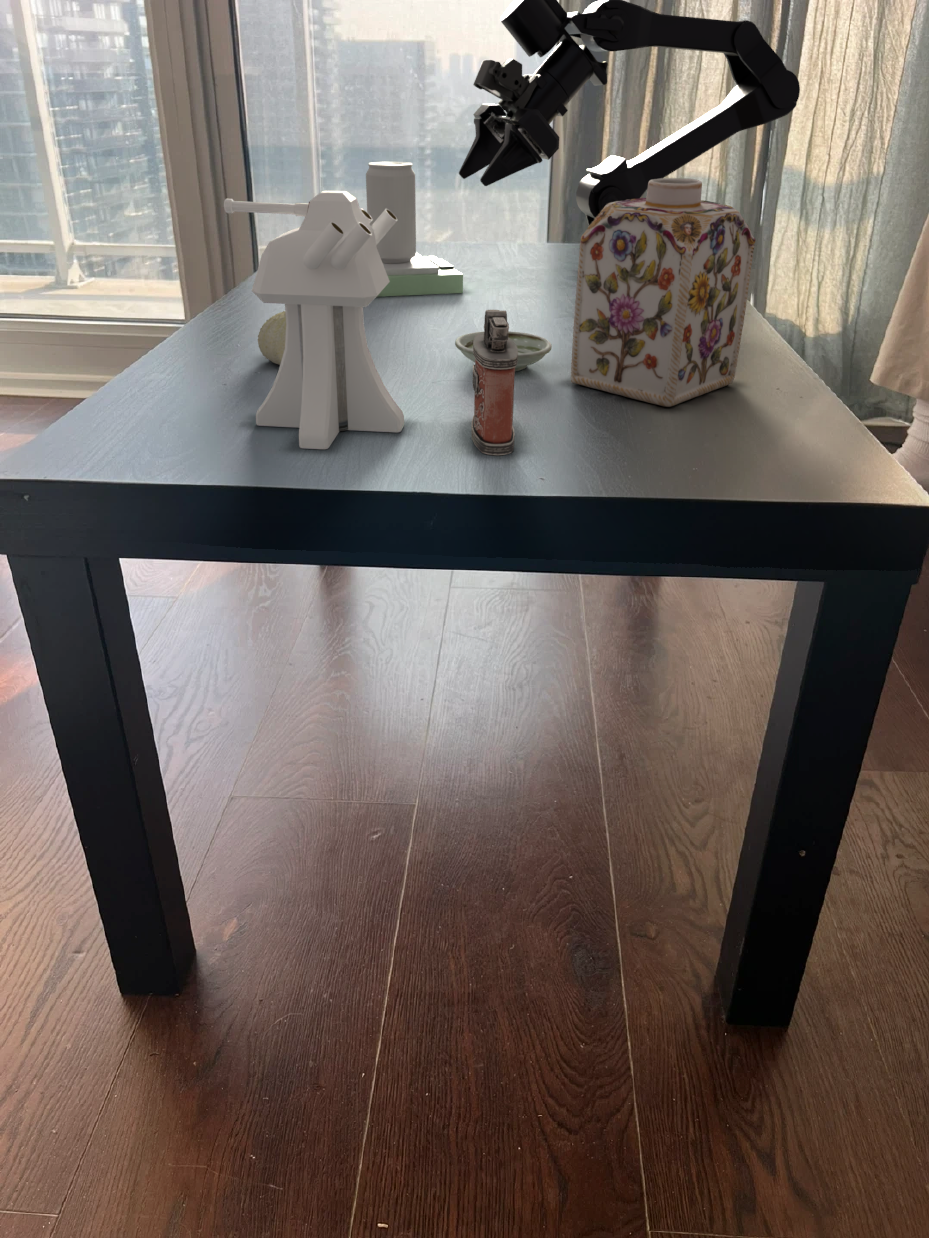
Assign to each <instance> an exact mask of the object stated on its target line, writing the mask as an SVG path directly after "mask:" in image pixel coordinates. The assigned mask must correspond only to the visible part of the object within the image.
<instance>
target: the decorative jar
mask: <svg viewBox="0 0 929 1238" xmlns="http://www.w3.org/2000/svg"><path fill="white" fill-rule="evenodd" d="M702 191H703V181H701V180H699V179H696V178H691V177H688V178H687V177H664V178H661V179H653V180H650V181H649V182H648V189H647V190H646V197H641V198H639V199H631V200H630V199H627V200H625V201H616V202H611V203H608V204H607V205H606V206H605V207H604V208H603V209H602V211H601V212H600V213H599V214H598V215H597V217H596V218H595V219H594V221H593V222H592V223H591V224H590V225H589V226H588V227H587V228H586V230H585V231H584V233H583V234H582V235H581V236H580V241H579V253H578V264H577V277H576V288H575V300H574V314H573V315H574V316H573V325H572V326H573V327H572V328H573V329H572V344H571V365H570V382H571V384H575V385H580V386H582V387H587V388H591V389H595V390H599V391H602V392H606V393H610V394H614V395H617V396H622V397H626V398H629V399H632V400H636V401H641V402H644V403H649V404H652V405H657V406H660V407H664V408H671V407H673V406H677V405H678V404H681V403H683V402H687V401H690V400H692V399H694V398H697V397H700V396H702V395H705V394H708V393H710V392H713V391H716V390H718V389H721V388H723V387H726V386H729V385H731V384H732V383H733V382H734V380H735V376H736V372H737V367H738V359H739V355H740V354H739V353H740V348H741V341H742V336H743V330H744V329H743V328H744V323H745V316H746V310H747V309H746V308H747V304H748V303H747V302H748V294H749V286H750V279H751V271H752V267H753V266H752V264H753V259H754V252H755V251H754V250H755V244H756V238H755V237H754V235H753V233H752V231H751V228H750V226H749V225H748V224H747V222H746V221H745V219H744V217H743V216H742V214H741V212H740V211H739V210H737V209H736V208H734V207H733V206H731V205H728V204H722V203H719V202H715V201H710V200H702Z"/></svg>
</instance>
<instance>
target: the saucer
mask: <svg viewBox="0 0 929 1238" xmlns="http://www.w3.org/2000/svg"><path fill="white" fill-rule="evenodd" d="M478 334H484V330H483V331H475V332H470V333H466V334H463V335H460V336H458V337H457V338H456V339H455V341H454V344H455V347H456V348H457V350H459V351H460V352H461V354H462V355H463V356H464V357H465V358H467V359H468V360H470V362H471V361H472V362H473V363H475V357H474V356H473V340H474V337H475V336H476V335H478ZM508 337H509V338H510V339H511V340H513V341H514V343H515V344H516V345H517V348H518V362H517V366H516V367H515V372H518V371H519V372H520V371H522V370H525V369H527V368H528V366H531V365H533V364H535V363H538V362H539V361H540V360H542V359H543V358H544V357H545V356H546V355H547V354H549V353H550V352H551V351H552V347H553V345H552V343H551V342H550V340H548V339H547V338H545V337H543V336H540V335H536V334H533V333H528V332H521V331H511V330H509V332H508Z"/></svg>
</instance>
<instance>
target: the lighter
mask: <svg viewBox="0 0 929 1238" xmlns="http://www.w3.org/2000/svg"><path fill="white" fill-rule="evenodd" d="M483 331H484V334H478V335H476V336H475V337H474V340H473V356H474V357H475V362H474V364H473V365H472V380H471V383H472V389H473V391H474V398H473V399H474V401H473V402H474V403H473V416H472V419H471V422H470V423H471V426H470V427H471V428H470V434H471V440H472V442H473V444H474V446H475V447H476V448H477V450H478V451H479V452H481V453H482V454H483V455H484V454H485V455H488V456H505V455H510V454H512V453H513V452H514V447H515V428H514V425H513V424H514V423H513V421H514V420H513V419H514V399H515V398H514V395H515V394H514V393H515V373H516V371H515V367H516V366H517V362H518V348H517V345H516V344H515V343H514V341H513V340H511V339H510V338H509V337H508V332H509V331H510V324H509V322H508V313H507V310H500V309H486V310H485V312H484V323H483Z"/></svg>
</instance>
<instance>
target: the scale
mask: <svg viewBox="0 0 929 1238" xmlns="http://www.w3.org/2000/svg"><path fill="white" fill-rule="evenodd" d="M383 265H384V268H385V271H386V273H387V276H388V278H389V281H390V282H389V283H388V284H387V285H386V287H385V288H384V289H383V290H382V291H381V292H380V293H379V295H378V296H377V297H376V298H382V297H383V298H384V297H401V296H403V297H405V296H406V297H407V296H422V295H423V296H424V295H425V296H427V295H447V294H449V295H450V294H463V293H464V273H462V272H460V271H458V269H455V266H454V265H453V264H451V263H449V262H448V261H446V260H444V259H443V258H438V257H437V256H435V255H428V256H427V255H423V256H422V255H421V254H420V253H418V252H417V251H416V256H415V257H413V258H412V259H411V261H409V262H406V263H395V264H389V263H383Z"/></svg>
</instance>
